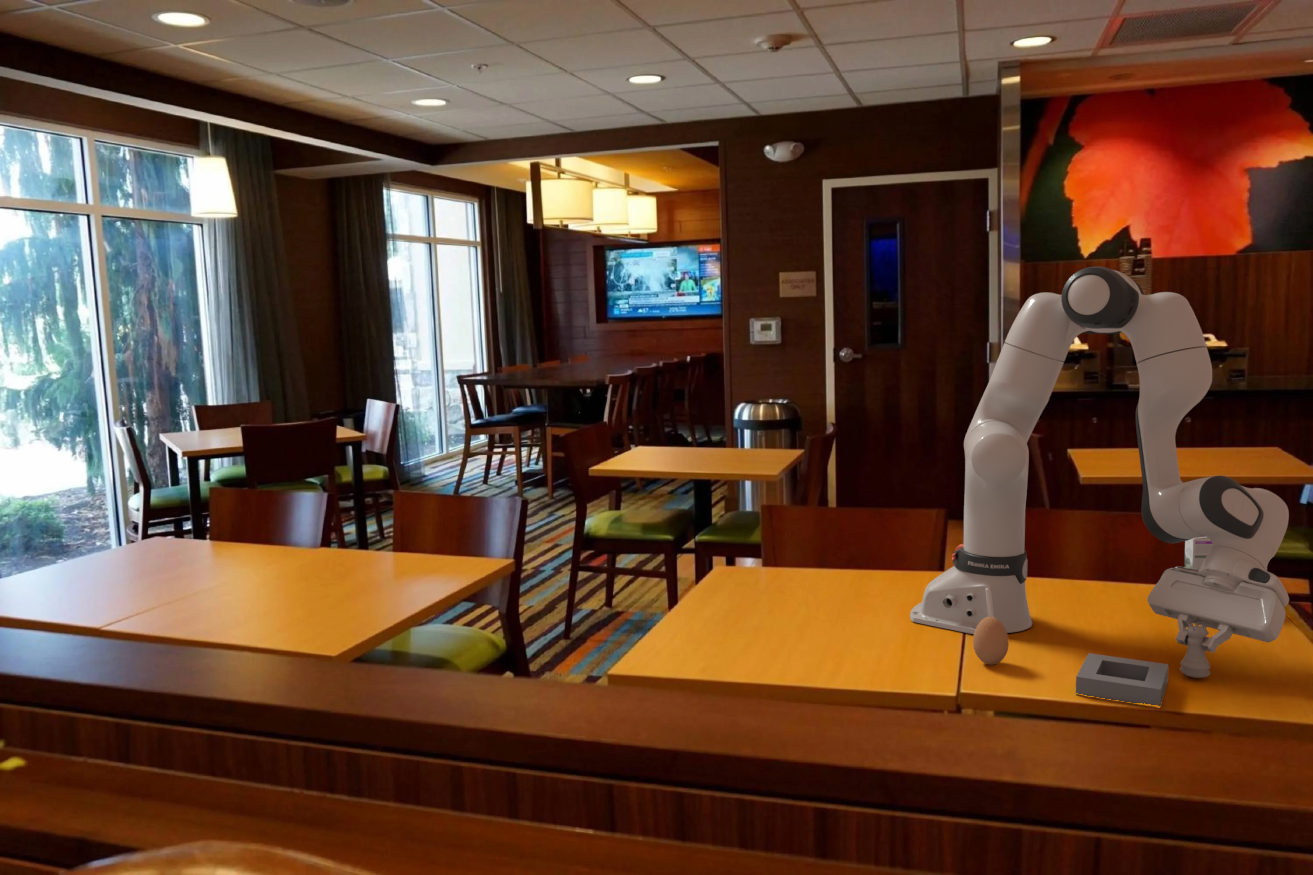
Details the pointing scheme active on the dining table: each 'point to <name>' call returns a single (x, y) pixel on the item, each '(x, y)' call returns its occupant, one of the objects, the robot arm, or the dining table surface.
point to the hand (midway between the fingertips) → (1194, 646)
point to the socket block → (1122, 679)
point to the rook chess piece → (1195, 653)
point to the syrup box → (1196, 552)
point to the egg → (990, 641)
